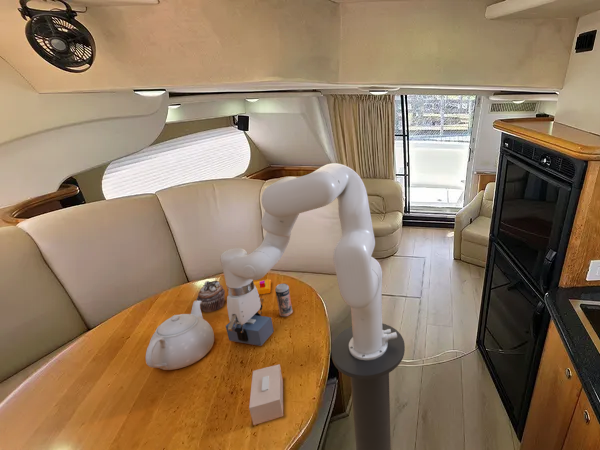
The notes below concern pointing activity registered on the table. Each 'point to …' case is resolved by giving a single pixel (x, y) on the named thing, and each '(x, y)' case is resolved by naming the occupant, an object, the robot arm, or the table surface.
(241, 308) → the robot arm
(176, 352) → the teapot
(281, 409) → the front tissue box
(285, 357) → the table surface
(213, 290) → the cupcake
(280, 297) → the beer can
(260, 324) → the back tissue box
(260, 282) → the orange square block
